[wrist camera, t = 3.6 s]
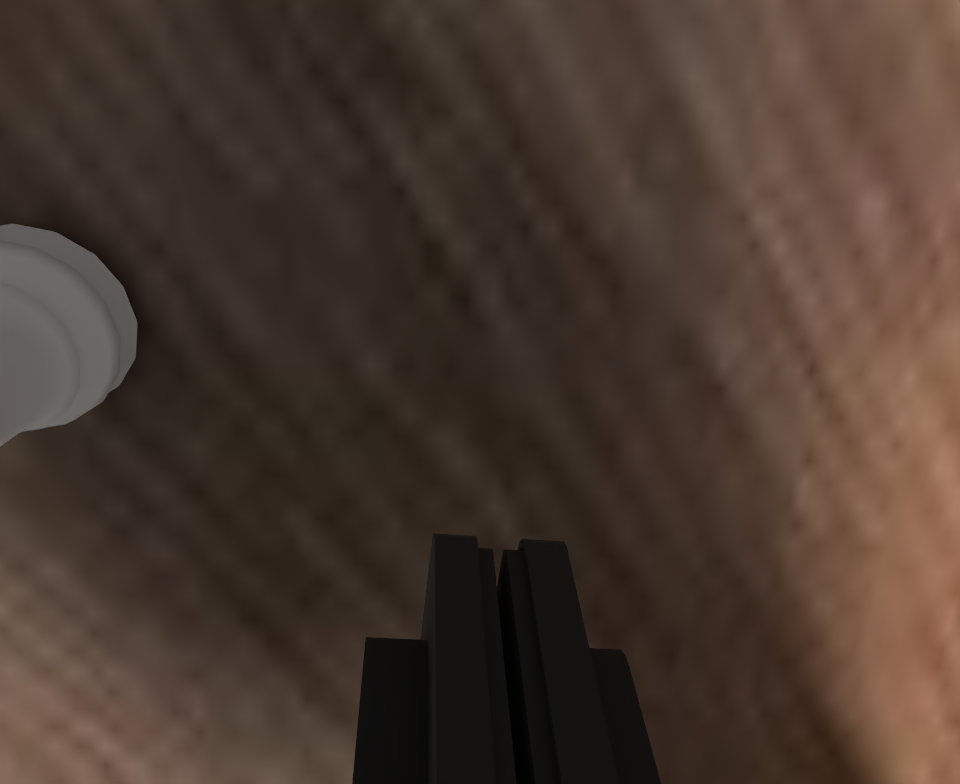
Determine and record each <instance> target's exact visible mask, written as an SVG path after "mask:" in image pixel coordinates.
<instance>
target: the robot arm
mask: <svg viewBox="0 0 960 784" xmlns="http://www.w3.org/2000/svg"><path fill="white" fill-rule="evenodd" d="M352 784H661V782H660V779H659V775H658V771H657V767H656V764H655V760H654V756H653V753H652V749H651V745H650V742H649V738H648V734H647V731H646V727H645V723H644V720H643V716H642V712H641V709H640V705H639V701H638V697H637V694H636V690H635V686H634V683H633V679H632V675H631V672H630V668H629V665H628V662H627V659H626V657H625V655H624V653H623V652H622V651H621V650H614V649H593V648H589V645H588V641H587V636H586V632H585V627H584V623H583V618H582V614H581V609H580V605H579V600H578V596H577V591H576V587H575V582H574V578H573V573H572V569H571V564H570V560H569V556H568V551H567V547H566V544H565V543H564V542H560V541H544V540H528V539H522V540H521V541H520V543H519V547H518V550H504V552H503V556H502V561H501V567H500V573H499V579H498V585H497V586H496V576H495V566H494V557H493V550H492V549H487V548H478V544H477V538H476V536H463V535H447V534H434V535H433V539H432V547H431V555H430V564H429V573H428V581H427V590H426V599H425V607H424V616H423V625H422V633H421V640H410V639H389V638H369V637H366V642H365V652H364V663H363V674H362V685H361V696H360V707H359V717H358V728H357V739H356V750H355V761H354V772H353V783H352Z"/></svg>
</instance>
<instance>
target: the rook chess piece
mask: <svg viewBox="0 0 960 784" xmlns="http://www.w3.org/2000/svg"><path fill="white" fill-rule="evenodd" d="M136 345H137V320H136V318H135V315H134V312H133V310H132V307H131V305H130V302H129V300H128V297H127V294H126V292H125V289H124V287H123V286H122V284H121V283H120V282H119V281H118V280H117V279H116V278H115V277H114V275H113V274H112V273H111V272H110V271H109V270H108V269H107V267H106V266H105V265H104V264H103V263H102V262H101V261H100V260H99V258H98V257H97V256H96V255H95V254H93V253H92V252H90V251H88V250H86V249H85V248H83V247H81V246H79V245H78V244H76V243H74V242H72V241H71V240H69V239H67V238H66V237H64V236H62V235H60V234H59V233H57V232H54V231H49V230H43V229H38V228H33V227H28V226H23V225H18V224H7V225H2V226H0V447H1V446H2V445H3V444H5V443H6V442H7V441H9V440H10V439H12V438H13V437H14V436H16V435H17V434H18V433H20V432H25V431H31V430H37V429H42V428H47V427H52V426H58V425H64V424H67V423H69V422H71V421H73V420H76V419H77V418H79V417H80V416H82V415H83V414H85V413H86V412H88V411H89V410H91V409H92V408H94V407H95V406H97V405H99V404H100V403H102V402H103V401H104V400H105V398H106V396H107V394H108V393H109V392H111V391H112V390H114V389H115V388H117V387H118V386H120V384H121V382H122V381H123V379H124V377H125V376H126V374H127V372H128V370H129V369H130V367H131V365H132V363H133V362H134V360H135V358H136Z"/></svg>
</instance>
